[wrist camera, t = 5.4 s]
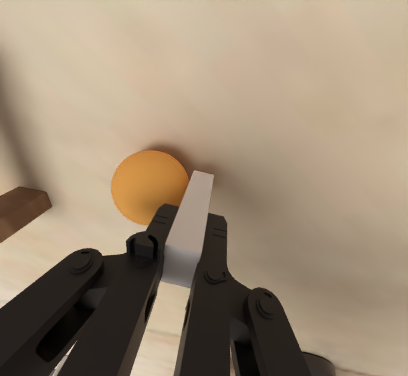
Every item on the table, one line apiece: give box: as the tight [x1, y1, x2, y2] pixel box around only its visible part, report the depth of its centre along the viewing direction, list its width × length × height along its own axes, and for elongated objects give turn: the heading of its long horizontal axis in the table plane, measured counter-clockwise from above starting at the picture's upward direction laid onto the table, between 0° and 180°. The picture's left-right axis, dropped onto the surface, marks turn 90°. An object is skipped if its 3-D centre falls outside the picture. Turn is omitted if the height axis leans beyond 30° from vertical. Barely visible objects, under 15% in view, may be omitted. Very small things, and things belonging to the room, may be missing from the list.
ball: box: [111, 150, 189, 225], centre depth 13 cm, size 6×6×6 cm
